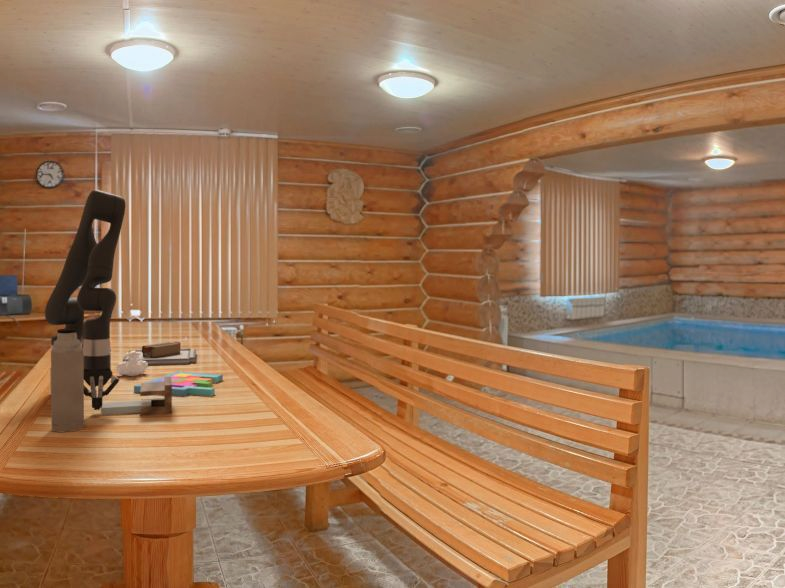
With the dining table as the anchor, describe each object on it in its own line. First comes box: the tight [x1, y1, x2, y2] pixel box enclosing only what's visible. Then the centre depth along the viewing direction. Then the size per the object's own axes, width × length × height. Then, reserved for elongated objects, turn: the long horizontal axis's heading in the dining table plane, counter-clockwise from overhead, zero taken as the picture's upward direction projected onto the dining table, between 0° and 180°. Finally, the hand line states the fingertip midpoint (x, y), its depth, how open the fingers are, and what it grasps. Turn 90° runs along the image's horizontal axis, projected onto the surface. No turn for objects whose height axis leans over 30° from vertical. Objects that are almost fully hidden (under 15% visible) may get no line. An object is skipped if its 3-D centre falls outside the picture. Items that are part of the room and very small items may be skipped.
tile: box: [100, 400, 152, 416], centre depth 189 cm, size 14×7×2 cm, turn 110°
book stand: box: [122, 341, 197, 366], centre depth 280 cm, size 30×30×8 cm
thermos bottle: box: [50, 328, 85, 432], centre depth 168 cm, size 8×8×28 cm
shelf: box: [139, 377, 173, 416], centre depth 191 cm, size 9×13×9 cm
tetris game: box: [133, 371, 224, 397], centre depth 225 cm, size 28×3×28 cm
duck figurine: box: [115, 351, 149, 377], centre depth 242 cm, size 12×8×11 cm
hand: (97, 409), depth 185 cm, fingers closed
